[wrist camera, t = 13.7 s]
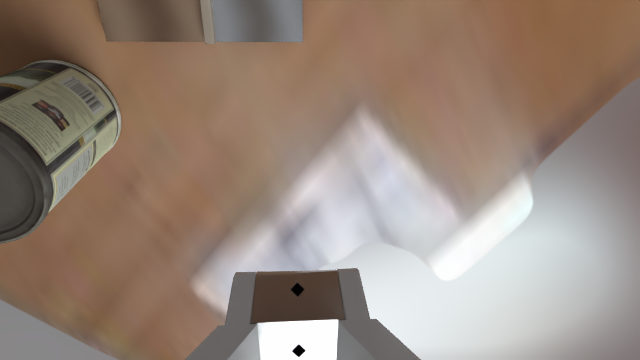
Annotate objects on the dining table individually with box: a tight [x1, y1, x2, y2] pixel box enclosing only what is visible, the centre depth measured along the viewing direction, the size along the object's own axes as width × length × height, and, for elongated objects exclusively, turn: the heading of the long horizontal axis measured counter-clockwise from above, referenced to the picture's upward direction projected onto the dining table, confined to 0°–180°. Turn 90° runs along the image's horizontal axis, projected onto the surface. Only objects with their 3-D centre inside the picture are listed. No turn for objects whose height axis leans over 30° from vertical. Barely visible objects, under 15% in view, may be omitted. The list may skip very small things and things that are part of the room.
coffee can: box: [0, 60, 121, 244], centre depth 32 cm, size 10×10×14 cm
